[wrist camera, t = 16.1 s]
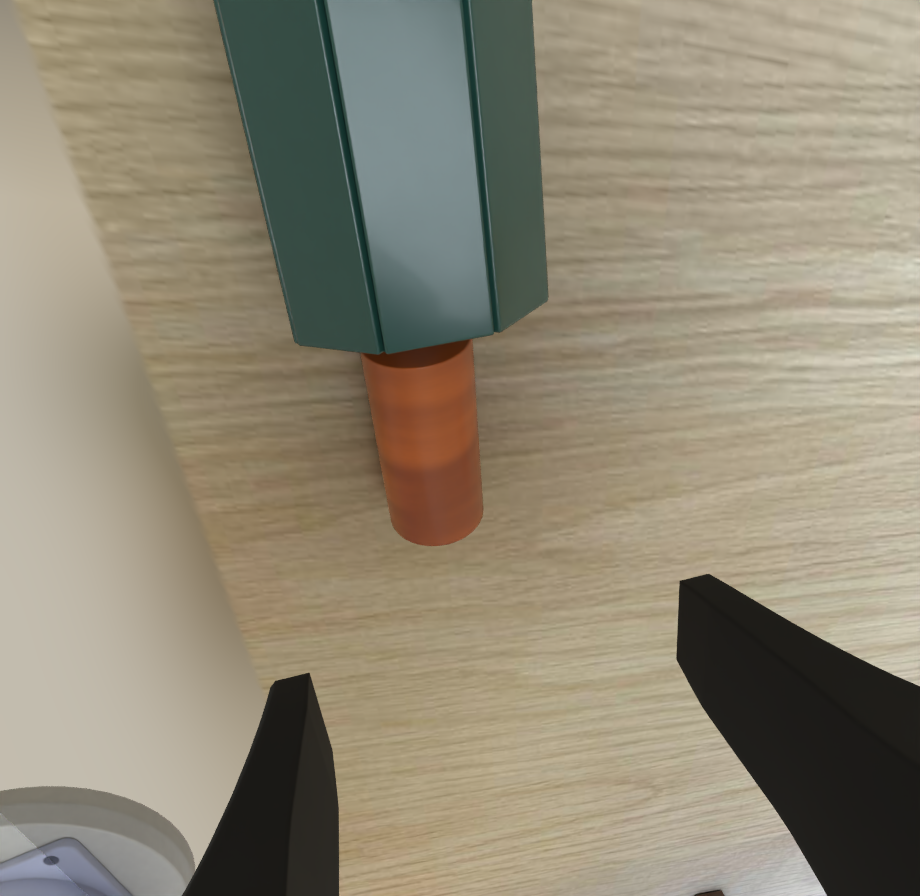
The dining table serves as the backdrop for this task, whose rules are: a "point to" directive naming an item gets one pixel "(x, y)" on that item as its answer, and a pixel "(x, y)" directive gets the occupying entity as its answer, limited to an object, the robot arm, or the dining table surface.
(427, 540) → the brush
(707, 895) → the small blocks
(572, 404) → the dining table surface
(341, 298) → the octagonal container
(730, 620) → the robot arm
